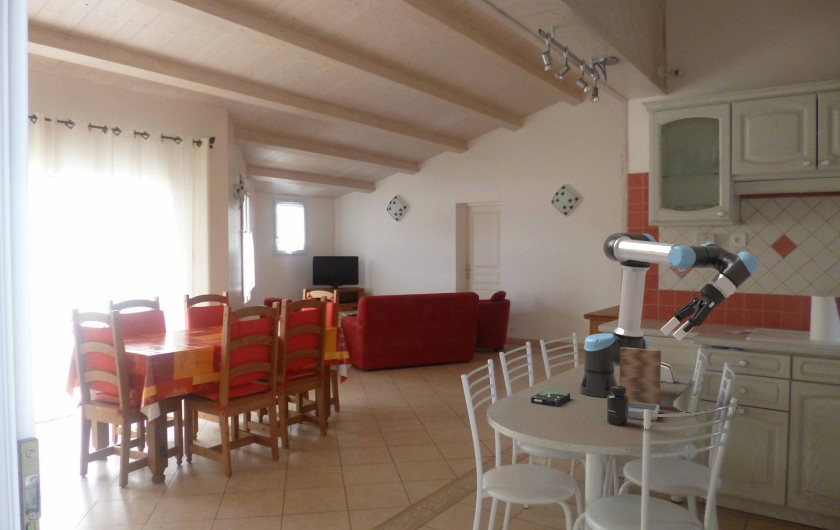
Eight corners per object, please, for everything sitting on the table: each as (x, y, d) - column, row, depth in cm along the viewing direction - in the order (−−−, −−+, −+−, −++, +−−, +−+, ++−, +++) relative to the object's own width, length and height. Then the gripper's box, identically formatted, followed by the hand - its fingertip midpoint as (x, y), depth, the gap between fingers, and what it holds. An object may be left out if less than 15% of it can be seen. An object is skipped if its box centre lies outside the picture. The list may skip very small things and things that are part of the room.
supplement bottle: (605, 424, 199) (606, 388, 198) (607, 419, 205) (607, 384, 205) (627, 426, 196) (628, 390, 196) (628, 421, 203) (629, 385, 202)
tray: (613, 416, 209) (613, 409, 209) (619, 407, 221) (619, 400, 221) (656, 421, 203) (656, 413, 203) (659, 412, 215) (659, 405, 215)
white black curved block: (676, 381, 269) (674, 361, 266) (673, 386, 265) (671, 366, 262) (637, 376, 279) (635, 356, 276) (634, 381, 275) (632, 361, 272)
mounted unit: (619, 404, 226) (620, 348, 225) (621, 401, 231) (622, 346, 231) (659, 408, 220) (660, 351, 219) (660, 405, 225) (661, 348, 224)
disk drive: (557, 408, 221) (570, 400, 234) (557, 401, 221) (570, 392, 234) (530, 404, 227) (544, 396, 239) (530, 397, 227) (544, 389, 239)
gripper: (741, 301, 187) (690, 349, 189) (711, 296, 212) (665, 338, 214) (723, 284, 188) (672, 331, 189) (695, 281, 212) (650, 323, 214)
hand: (669, 335), depth 202 cm, fingers open, 13 cm apart
